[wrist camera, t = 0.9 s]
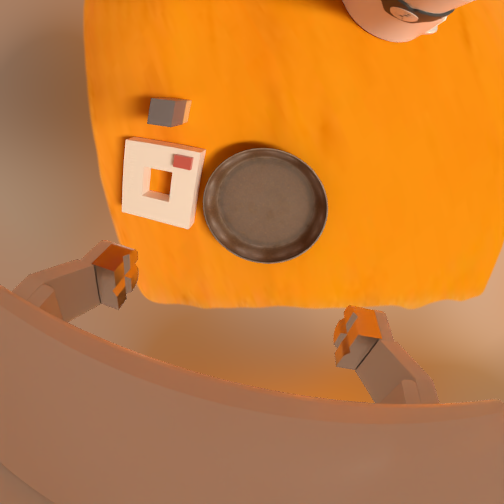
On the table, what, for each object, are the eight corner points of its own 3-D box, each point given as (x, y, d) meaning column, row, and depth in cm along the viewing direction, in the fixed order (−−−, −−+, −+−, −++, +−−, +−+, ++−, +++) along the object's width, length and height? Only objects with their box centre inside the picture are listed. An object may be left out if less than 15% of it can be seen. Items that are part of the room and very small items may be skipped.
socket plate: (134, 136, 44) (123, 140, 41) (206, 149, 44) (198, 153, 41) (129, 205, 51) (119, 213, 48) (193, 222, 51) (187, 231, 48)
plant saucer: (301, 268, 54) (301, 278, 51) (198, 236, 53) (193, 244, 50) (343, 169, 43) (347, 174, 40) (223, 130, 42) (218, 132, 39)
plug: (170, 97, 40) (151, 98, 34) (192, 100, 40) (175, 100, 34) (166, 119, 42) (147, 123, 36) (187, 122, 42) (171, 127, 36)
